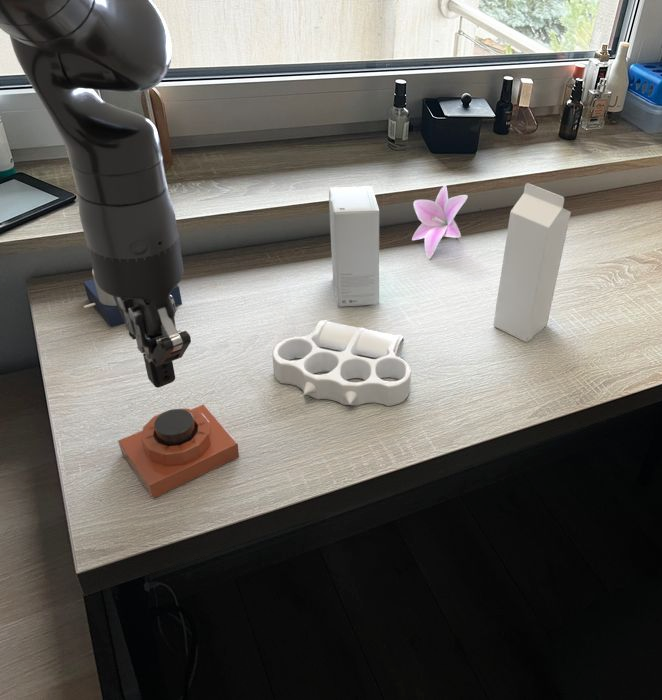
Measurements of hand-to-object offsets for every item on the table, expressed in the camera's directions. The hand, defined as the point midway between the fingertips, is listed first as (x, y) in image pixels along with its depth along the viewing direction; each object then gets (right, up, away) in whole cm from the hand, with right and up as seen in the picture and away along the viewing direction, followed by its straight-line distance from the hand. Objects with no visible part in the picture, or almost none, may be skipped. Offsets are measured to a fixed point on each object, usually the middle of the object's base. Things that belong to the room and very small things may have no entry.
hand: (162, 380), depth 75 cm
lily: (+26, +21, +49) cm, 60 cm away
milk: (+39, +7, +33) cm, 52 cm away
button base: (-1, -9, +7) cm, 11 cm away
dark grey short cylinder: (0, -6, +4) cm, 7 cm away
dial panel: (-16, +9, +27) cm, 32 cm away
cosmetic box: (+14, +12, +35) cm, 40 cm away
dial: (-16, +10, +23) cm, 30 cm away
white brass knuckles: (+16, 0, +20) cm, 26 cm away
